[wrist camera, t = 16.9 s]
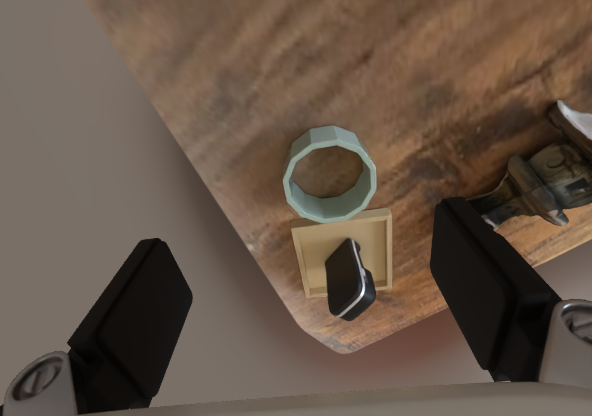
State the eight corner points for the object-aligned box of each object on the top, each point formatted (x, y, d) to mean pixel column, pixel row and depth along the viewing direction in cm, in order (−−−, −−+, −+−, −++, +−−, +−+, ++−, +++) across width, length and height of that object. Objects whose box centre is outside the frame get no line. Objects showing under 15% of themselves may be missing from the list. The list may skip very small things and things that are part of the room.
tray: (388, 207, 45) (392, 214, 43) (388, 280, 53) (392, 289, 52) (291, 220, 47) (290, 228, 45) (306, 289, 55) (306, 298, 53)
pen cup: (365, 119, 38) (374, 133, 33) (369, 195, 44) (377, 216, 39) (278, 134, 39) (275, 149, 35) (293, 206, 45) (292, 227, 41)
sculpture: (573, 79, 35) (677, 103, 26) (628, 126, 38) (740, 163, 29) (435, 217, 46) (473, 271, 36) (487, 245, 49) (535, 302, 39)
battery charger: (340, 271, 51) (350, 329, 42) (322, 262, 50) (328, 319, 41) (367, 245, 48) (384, 301, 39) (348, 234, 47) (361, 290, 38)
